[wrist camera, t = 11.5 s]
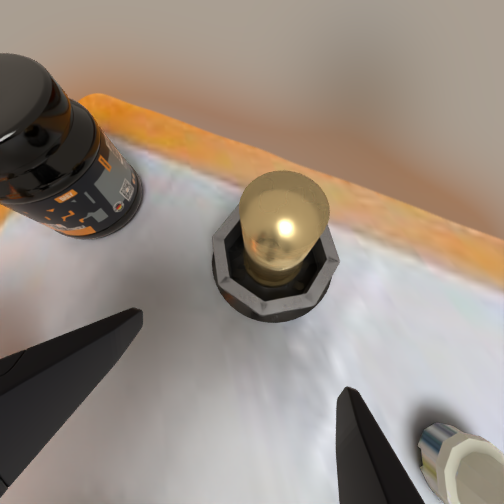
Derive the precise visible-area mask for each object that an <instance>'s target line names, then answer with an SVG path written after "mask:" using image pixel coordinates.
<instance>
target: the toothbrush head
mask: <svg viewBox="0 0 504 504" xmlns="http://www.w3.org/2000/svg"><path fill="white" fill-rule="evenodd" d="M418 447H420V448H421V452H422V462H423V466H421V467H420V469H421V471H422V473H423V475H424V477H425V479H426V481H427V483H428V485H429V487H430V489H431V490H432V491H433V492H434V493H435V494H436V495H437V496H438V497H439V498H440V499H441V500H442V501H443V502H444V503H445V504H504V454H503V453H502V452H501V451H500V450H499V449H498V448H496V447H495V446H494V445H493V444H492V443H490V442H489V441H487V440H485V439H484V438H482V437H480V436H476V435H471V434H467V433H463V432H462V431H460V430H459V429H457V428H455V427H454V426H451V425H447V424H442V423H437V422H436V423H435V424H433V425H431V426H429V427H428V428H426V429H424V431H423V433H422V436H421V438H420V441H419V444H418Z"/></svg>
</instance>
